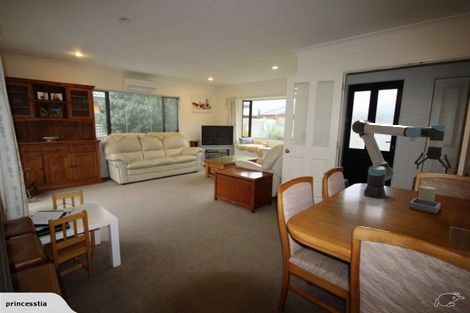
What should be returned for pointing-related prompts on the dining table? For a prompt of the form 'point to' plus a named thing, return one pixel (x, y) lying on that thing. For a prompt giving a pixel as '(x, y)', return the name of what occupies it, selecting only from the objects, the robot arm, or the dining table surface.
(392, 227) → the dining table surface
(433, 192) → the can
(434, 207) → the tray
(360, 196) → the dining table surface
